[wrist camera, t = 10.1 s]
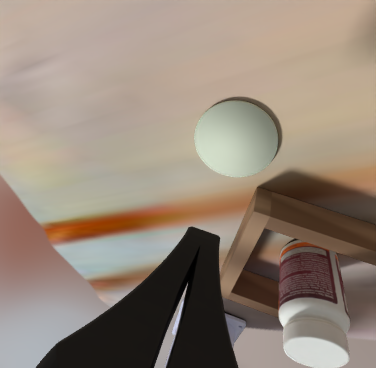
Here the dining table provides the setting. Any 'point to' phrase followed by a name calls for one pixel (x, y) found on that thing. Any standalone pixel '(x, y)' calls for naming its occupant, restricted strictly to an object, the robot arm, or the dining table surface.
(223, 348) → the robot arm
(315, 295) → the pill bottle
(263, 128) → the disc
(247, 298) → the walnut corral
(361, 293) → the dining table surface
